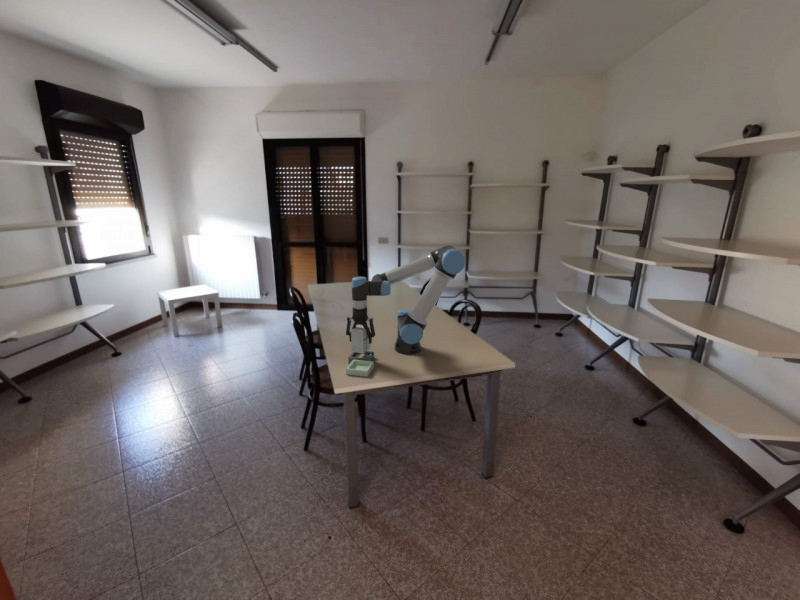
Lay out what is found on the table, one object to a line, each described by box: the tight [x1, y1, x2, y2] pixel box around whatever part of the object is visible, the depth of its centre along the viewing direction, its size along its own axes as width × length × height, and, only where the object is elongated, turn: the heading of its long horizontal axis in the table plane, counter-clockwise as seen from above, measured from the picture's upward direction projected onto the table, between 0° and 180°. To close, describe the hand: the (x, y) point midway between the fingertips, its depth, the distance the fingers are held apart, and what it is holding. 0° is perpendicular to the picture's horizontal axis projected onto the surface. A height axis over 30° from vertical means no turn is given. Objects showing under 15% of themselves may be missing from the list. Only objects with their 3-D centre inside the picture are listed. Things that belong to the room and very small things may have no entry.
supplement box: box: [350, 324, 371, 354], centre depth 192 cm, size 7×7×13 cm
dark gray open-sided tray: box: [348, 350, 375, 365], centre depth 195 cm, size 11×10×4 cm
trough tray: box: [345, 359, 375, 378], centre depth 184 cm, size 11×11×3 cm
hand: (360, 348), depth 193 cm, fingers closed on supplement box, 8 cm apart
